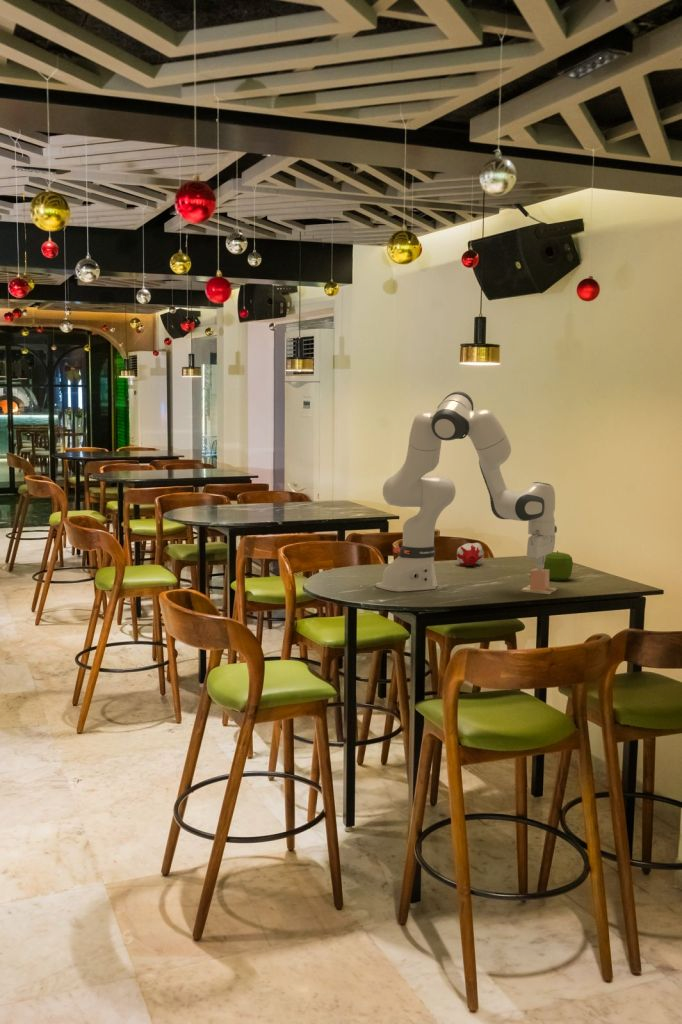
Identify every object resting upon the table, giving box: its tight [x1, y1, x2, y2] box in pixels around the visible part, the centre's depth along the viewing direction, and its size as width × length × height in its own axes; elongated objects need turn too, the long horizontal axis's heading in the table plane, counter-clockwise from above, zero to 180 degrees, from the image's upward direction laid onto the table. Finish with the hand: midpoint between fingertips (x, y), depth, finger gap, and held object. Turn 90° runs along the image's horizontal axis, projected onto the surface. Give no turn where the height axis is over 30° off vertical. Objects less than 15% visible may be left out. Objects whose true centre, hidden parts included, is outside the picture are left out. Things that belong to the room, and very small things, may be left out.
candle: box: [455, 542, 485, 567], centre depth 370 cm, size 9×11×15 cm
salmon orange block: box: [529, 568, 550, 591], centre depth 318 cm, size 5×5×7 cm
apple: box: [543, 550, 573, 582], centre depth 340 cm, size 11×11×11 cm
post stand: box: [520, 584, 558, 595], centre depth 318 cm, size 10×10×6 cm
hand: (540, 568), depth 317 cm, fingers closed
